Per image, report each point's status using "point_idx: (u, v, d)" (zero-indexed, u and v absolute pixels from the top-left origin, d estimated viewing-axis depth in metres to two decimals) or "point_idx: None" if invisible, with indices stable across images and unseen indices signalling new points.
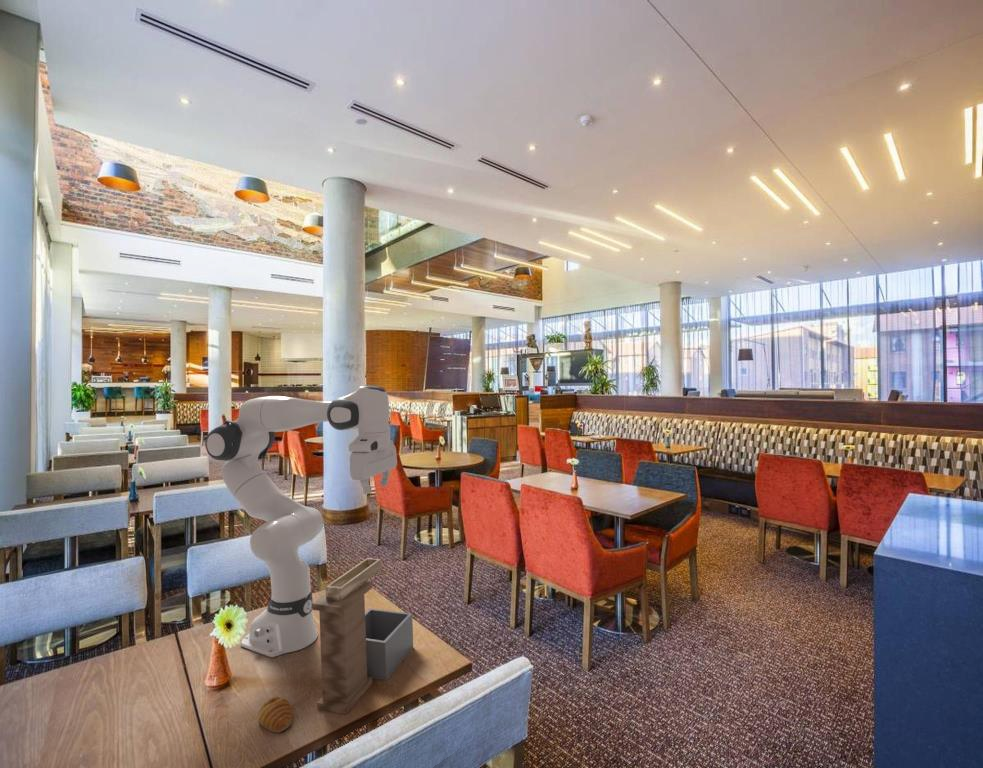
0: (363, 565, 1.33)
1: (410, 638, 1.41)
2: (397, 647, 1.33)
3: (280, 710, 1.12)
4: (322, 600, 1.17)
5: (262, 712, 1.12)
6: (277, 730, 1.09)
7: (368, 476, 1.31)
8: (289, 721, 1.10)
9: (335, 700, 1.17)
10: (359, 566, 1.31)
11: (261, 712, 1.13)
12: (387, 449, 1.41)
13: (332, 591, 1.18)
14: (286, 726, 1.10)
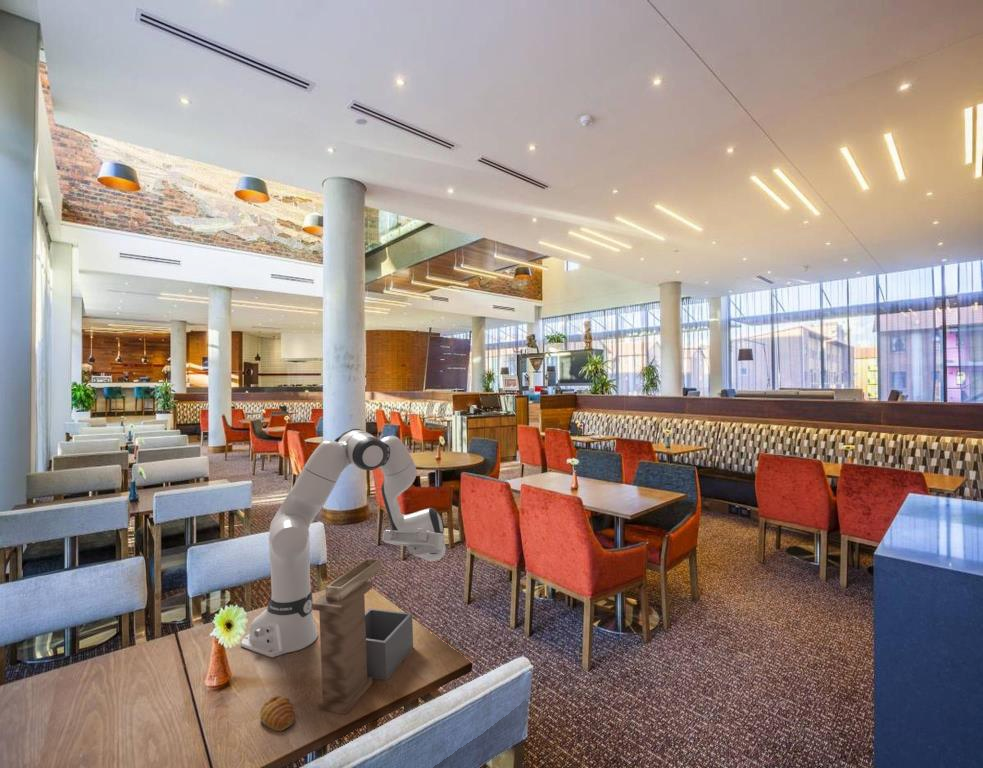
0: (363, 565, 1.33)
1: (410, 638, 1.41)
2: (397, 647, 1.33)
3: (282, 709, 1.13)
4: (322, 600, 1.17)
5: (264, 711, 1.13)
6: (280, 728, 1.09)
7: (428, 544, 1.54)
8: (291, 719, 1.11)
9: (335, 700, 1.17)
10: (359, 566, 1.31)
11: (263, 711, 1.13)
12: (405, 545, 1.62)
13: (332, 591, 1.18)
14: (289, 724, 1.10)
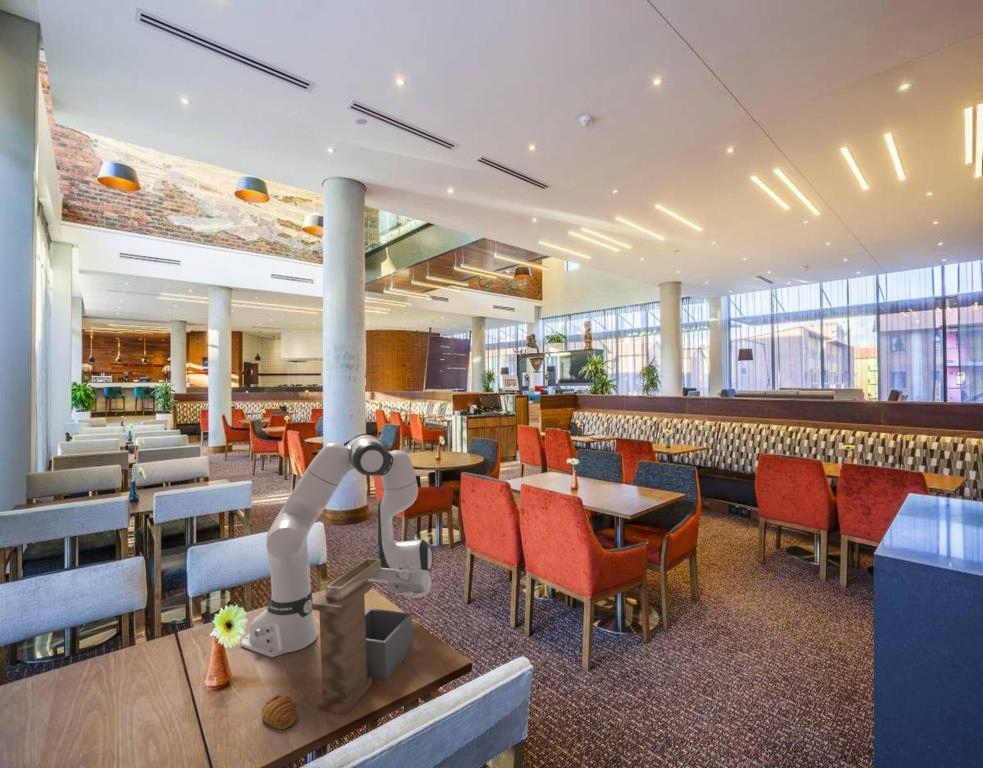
0: (363, 565, 1.33)
1: (410, 638, 1.41)
2: (397, 647, 1.33)
3: (284, 707, 1.13)
4: (322, 600, 1.17)
5: (266, 710, 1.13)
6: (282, 727, 1.10)
7: (410, 583, 1.42)
8: (294, 717, 1.12)
9: (335, 700, 1.17)
10: (359, 566, 1.31)
11: (265, 710, 1.14)
12: (386, 582, 1.50)
13: (332, 591, 1.18)
14: (291, 723, 1.11)
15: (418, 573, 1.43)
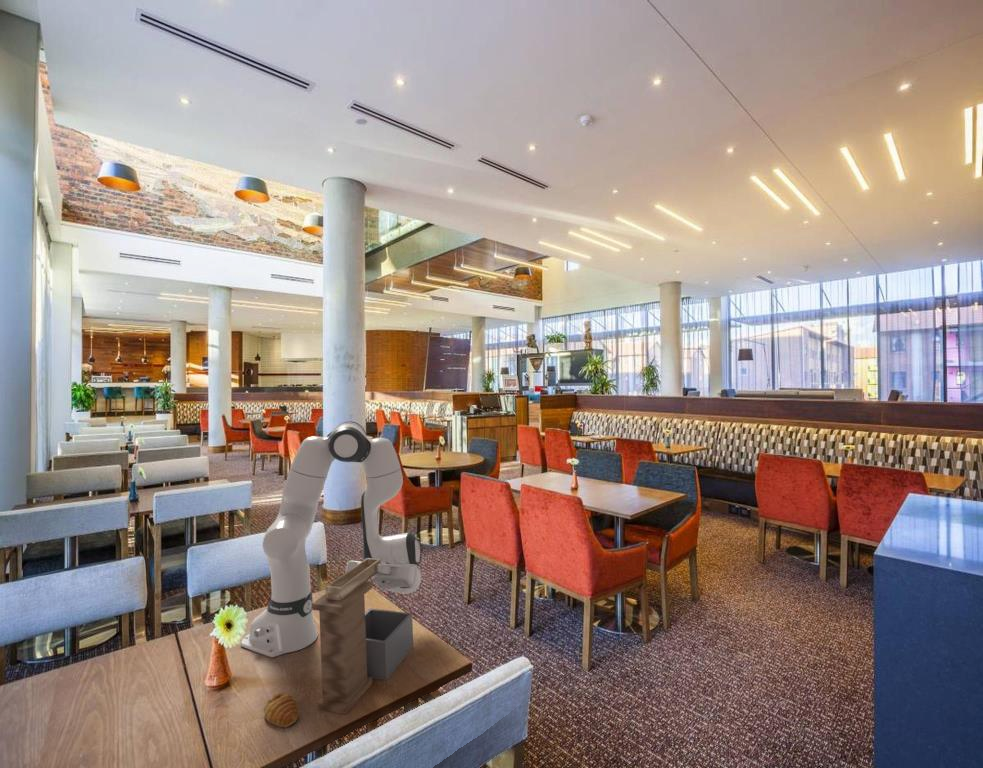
0: (363, 565, 1.33)
1: (410, 638, 1.41)
2: (397, 647, 1.33)
3: (286, 706, 1.14)
4: (322, 600, 1.17)
5: (268, 708, 1.14)
6: (285, 725, 1.11)
7: (396, 578, 1.34)
8: (296, 716, 1.12)
9: (335, 700, 1.17)
10: (359, 566, 1.31)
11: (267, 708, 1.14)
12: None
13: (332, 591, 1.18)
14: (294, 721, 1.12)
15: (405, 567, 1.34)
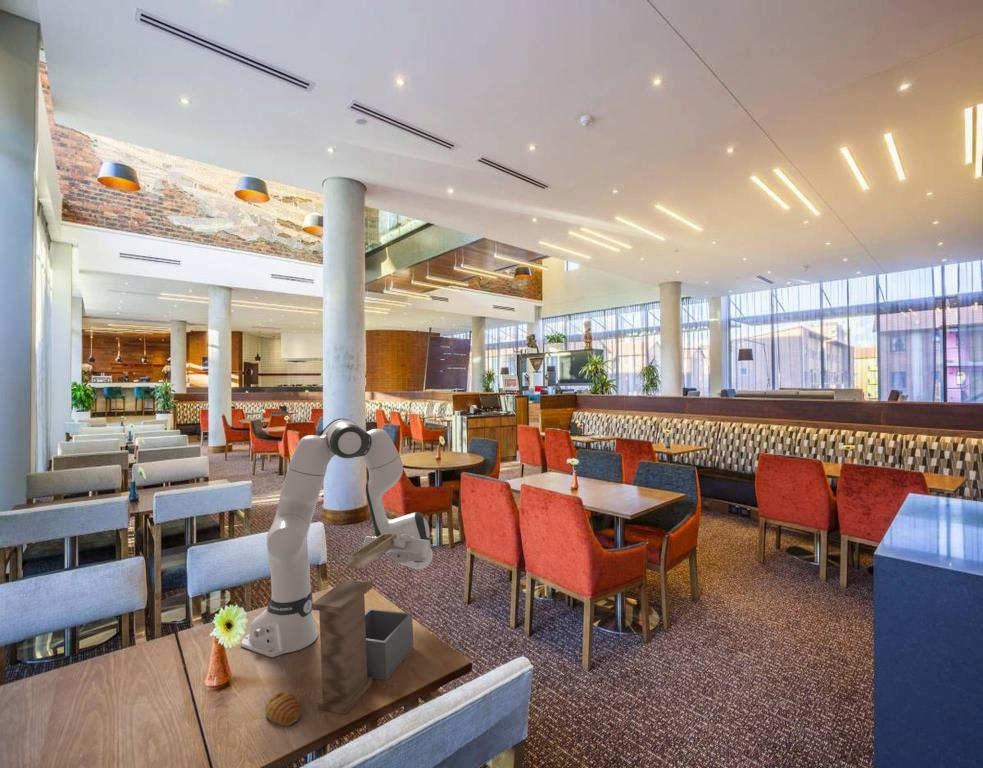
0: (380, 539, 1.42)
1: (410, 638, 1.41)
2: (397, 647, 1.33)
3: (288, 704, 1.14)
4: (322, 600, 1.17)
5: (270, 707, 1.14)
6: (287, 723, 1.11)
7: (411, 551, 1.43)
8: (298, 714, 1.13)
9: (335, 700, 1.17)
10: (376, 540, 1.40)
11: (268, 707, 1.14)
12: (387, 552, 1.51)
13: (353, 560, 1.26)
14: (296, 719, 1.12)
15: (419, 541, 1.43)
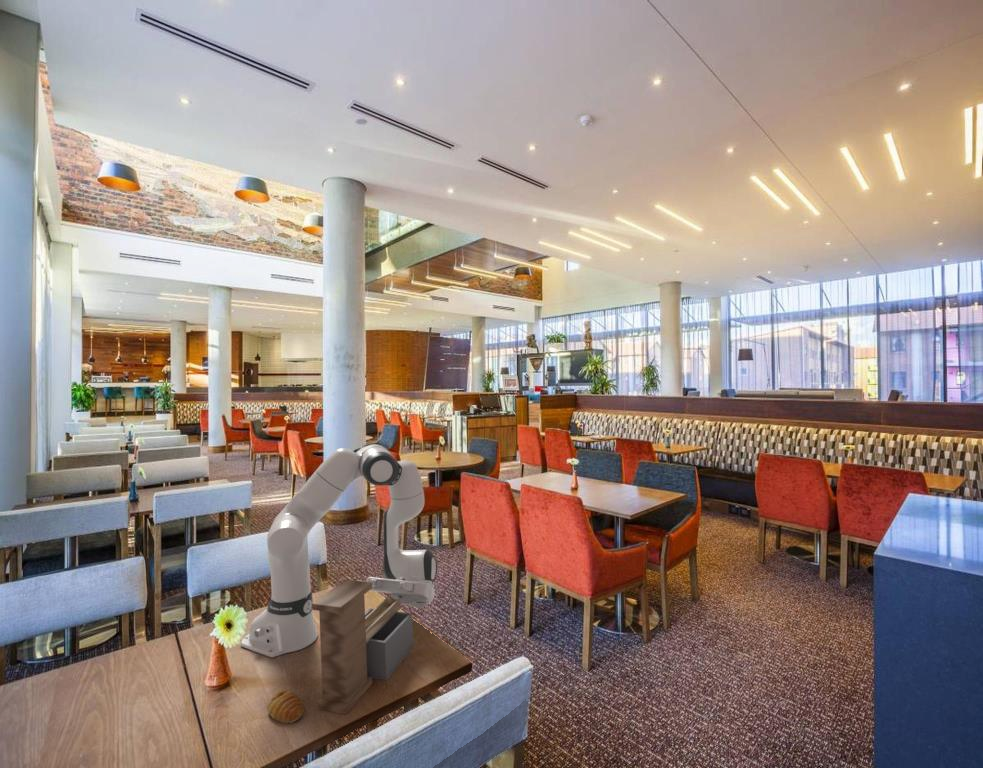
0: (383, 605, 1.43)
1: (410, 638, 1.41)
2: (397, 647, 1.33)
3: (291, 702, 1.15)
4: (322, 600, 1.17)
5: (272, 705, 1.15)
6: (290, 721, 1.12)
7: (413, 594, 1.44)
8: (301, 711, 1.14)
9: (335, 700, 1.17)
10: (380, 607, 1.41)
11: (271, 706, 1.15)
12: None
13: None
14: (299, 716, 1.13)
15: (421, 584, 1.44)
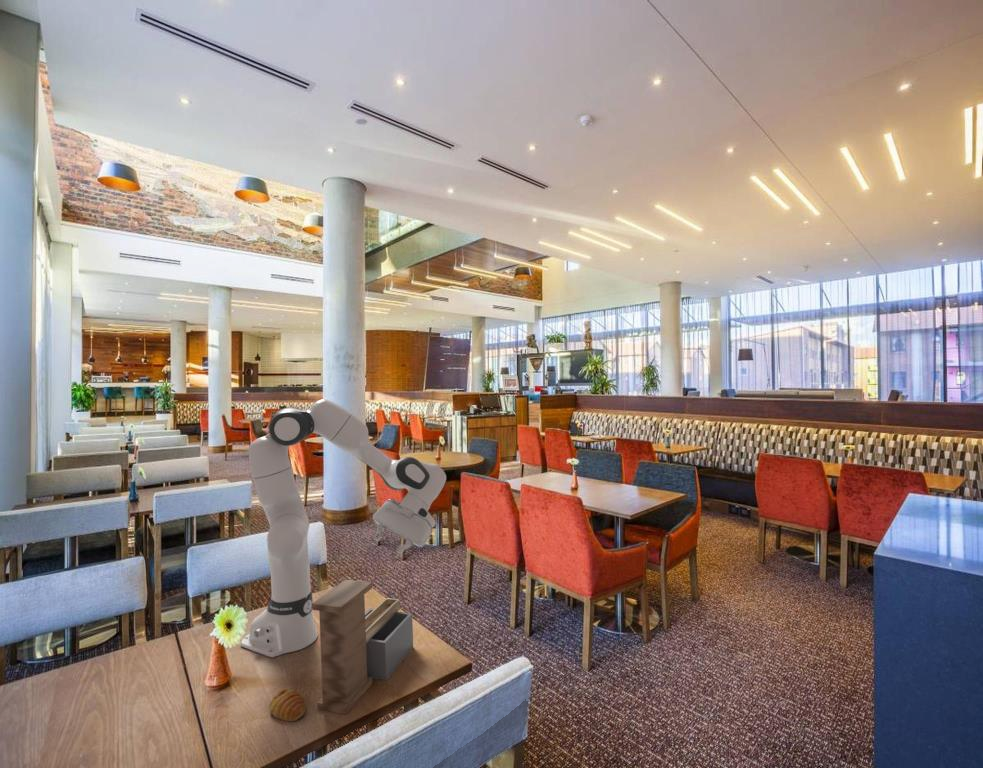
0: (383, 605, 1.43)
1: (410, 638, 1.41)
2: (397, 647, 1.33)
3: (293, 700, 1.15)
4: (322, 600, 1.17)
5: (274, 704, 1.15)
6: (293, 718, 1.13)
7: None
8: (304, 709, 1.14)
9: (335, 700, 1.17)
10: (380, 607, 1.41)
11: (273, 704, 1.15)
12: None
13: None
14: (302, 714, 1.14)
15: (416, 543, 1.47)
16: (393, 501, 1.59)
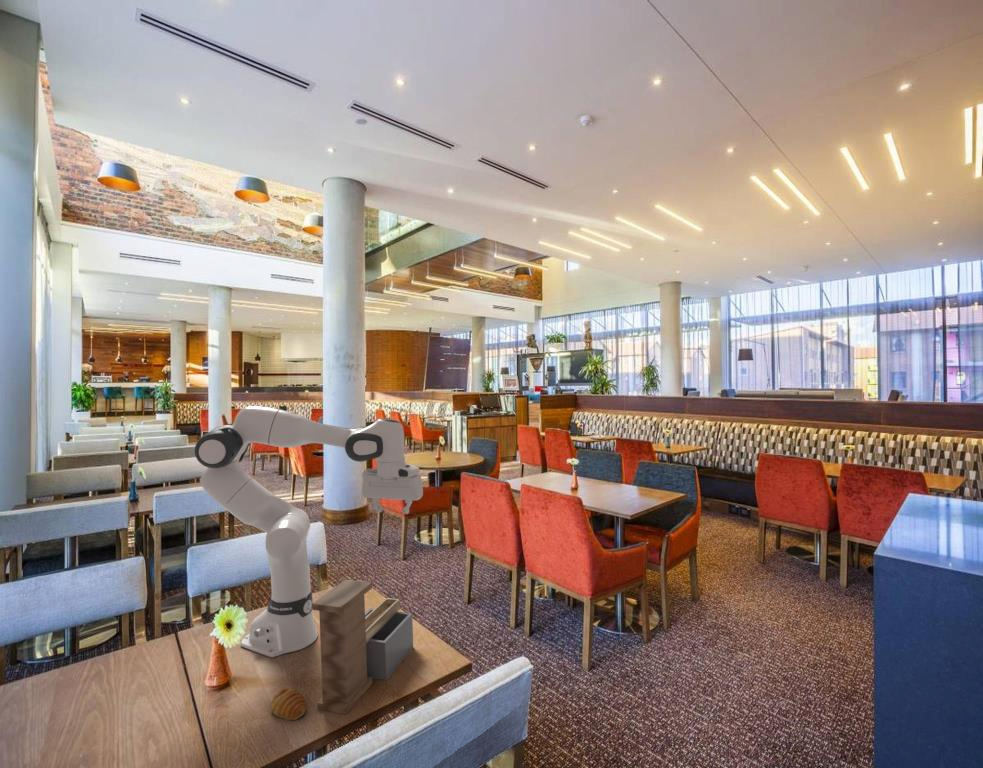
0: (383, 605, 1.43)
1: (410, 638, 1.41)
2: (397, 647, 1.33)
3: (294, 699, 1.16)
4: (322, 600, 1.17)
5: (275, 703, 1.15)
6: (294, 717, 1.13)
7: None
8: (305, 708, 1.15)
9: (335, 700, 1.17)
10: (380, 607, 1.41)
11: (274, 703, 1.16)
12: None
13: None
14: (303, 713, 1.14)
15: None
16: (369, 471, 1.54)
